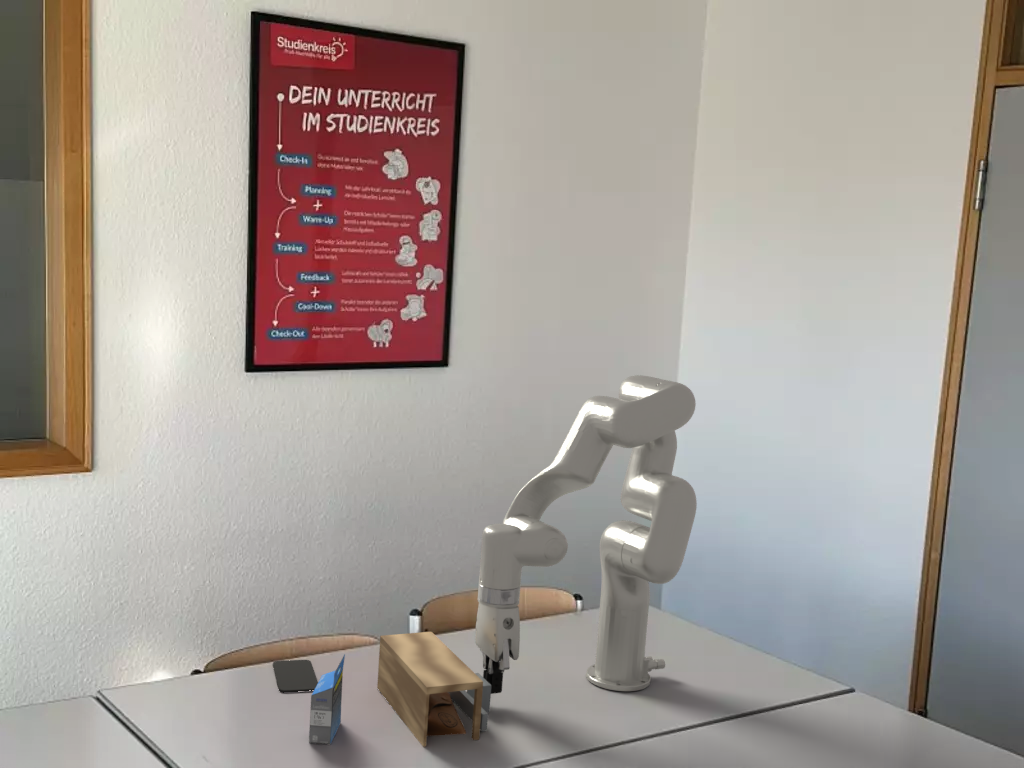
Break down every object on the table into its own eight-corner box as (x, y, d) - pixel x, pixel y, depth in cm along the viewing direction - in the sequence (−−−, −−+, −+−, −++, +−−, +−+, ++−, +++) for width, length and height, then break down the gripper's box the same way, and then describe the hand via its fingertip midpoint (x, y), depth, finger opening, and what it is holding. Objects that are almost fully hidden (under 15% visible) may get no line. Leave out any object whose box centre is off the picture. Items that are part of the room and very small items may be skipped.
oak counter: (427, 683, 210) (431, 631, 209) (479, 739, 188) (483, 681, 186) (377, 688, 206) (380, 635, 205) (423, 746, 183) (427, 687, 182)
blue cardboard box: (318, 720, 191) (322, 651, 189) (341, 722, 191) (345, 653, 189) (307, 743, 182) (311, 670, 180) (331, 745, 182) (335, 672, 180)
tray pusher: (462, 684, 210) (464, 659, 210) (505, 728, 192) (507, 700, 192) (440, 686, 209) (441, 661, 208) (481, 731, 190) (483, 703, 190)
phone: (310, 659, 217) (320, 688, 203) (310, 663, 217) (320, 693, 203) (271, 660, 215) (279, 690, 201) (271, 665, 215) (279, 695, 201)
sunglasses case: (470, 734, 189) (452, 702, 188) (434, 755, 188) (416, 724, 187) (449, 692, 207) (433, 663, 205) (415, 712, 205) (399, 682, 204)
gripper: (535, 605, 194) (528, 705, 197) (501, 580, 208) (494, 674, 210) (496, 608, 191) (489, 710, 193) (463, 582, 205) (457, 678, 207)
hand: (491, 691), depth 202 cm, fingers closed
